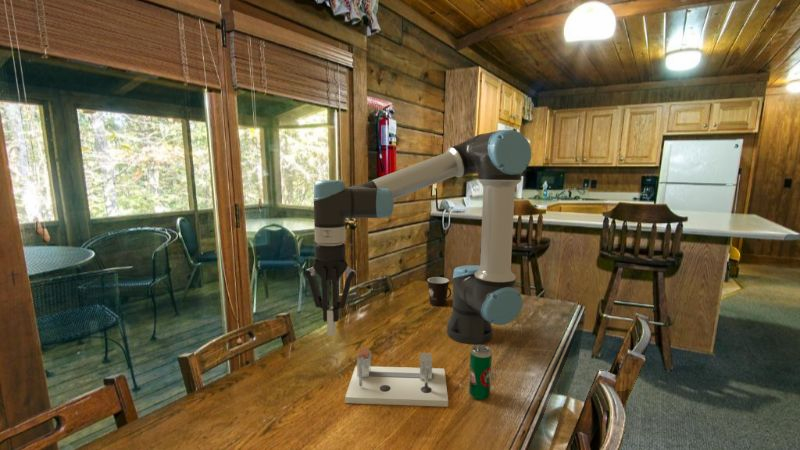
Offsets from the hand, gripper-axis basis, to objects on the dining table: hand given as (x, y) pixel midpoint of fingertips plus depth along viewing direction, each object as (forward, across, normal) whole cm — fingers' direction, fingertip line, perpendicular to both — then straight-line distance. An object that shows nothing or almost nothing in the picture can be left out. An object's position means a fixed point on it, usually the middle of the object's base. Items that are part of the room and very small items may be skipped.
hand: (331, 333), depth 95 cm
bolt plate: (+13, +18, -3) cm, 22 cm away
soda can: (+13, +38, -5) cm, 40 cm away
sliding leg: (+11, +8, -2) cm, 14 cm away
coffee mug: (+12, +30, +55) cm, 64 cm away
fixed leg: (+11, +24, -2) cm, 27 cm away
